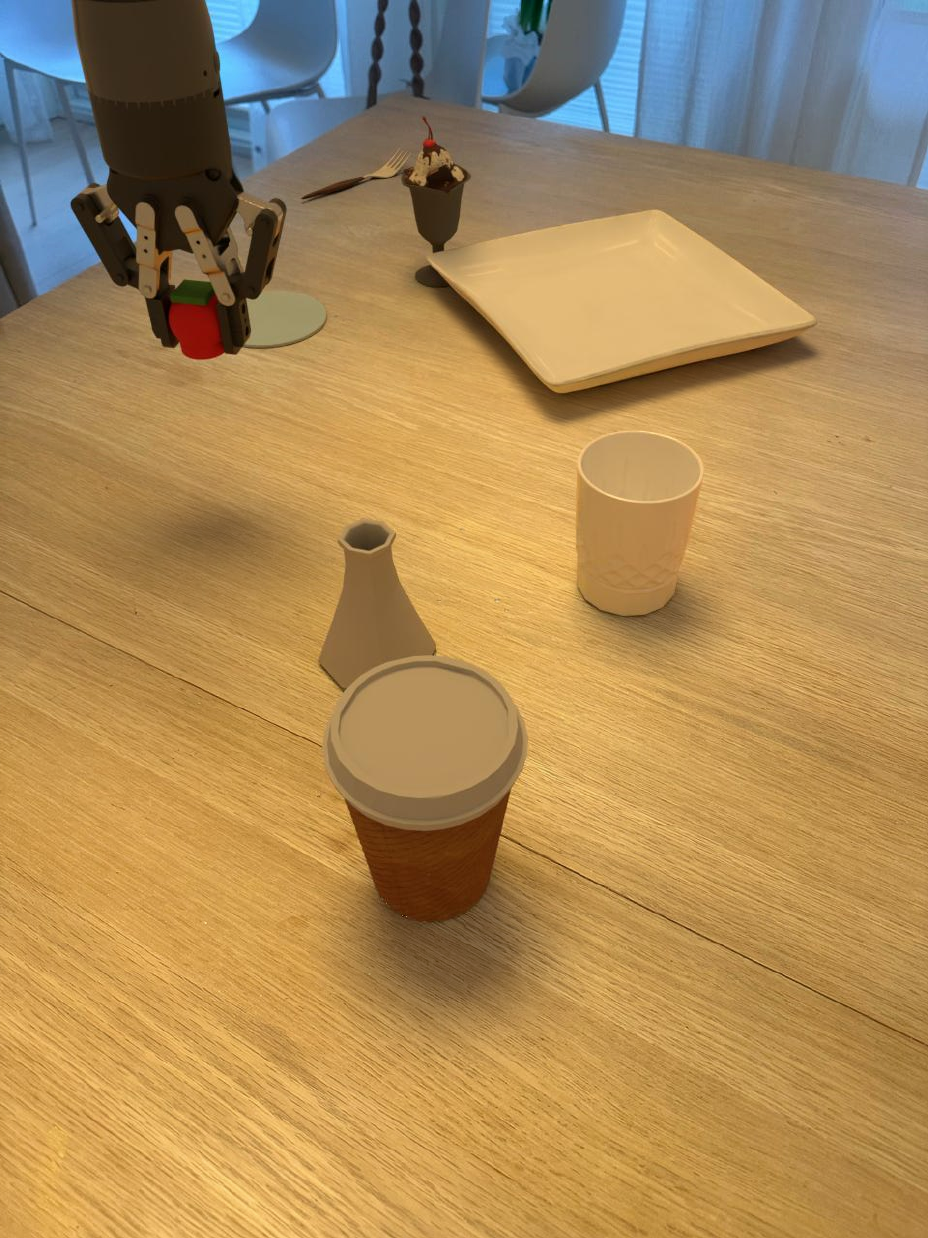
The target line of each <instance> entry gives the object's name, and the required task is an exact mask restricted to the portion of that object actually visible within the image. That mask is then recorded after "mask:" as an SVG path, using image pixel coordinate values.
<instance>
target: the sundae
mask: <svg viewBox="0 0 928 1238" xmlns="http://www.w3.org/2000/svg"><path fill="white" fill-rule="evenodd" d="M421 117H422V118H421V119H422V120H423V122H424V123H425V124H426V126H427V128H428V135H427V139H424V141H423V142H422V146H423V148H422V150H421V151H420V152H419V154H418V155H417V157H416V161H415V163H414V166H410V167H408V168H405V169H403V170H402V174H401V178H400V179H401V184H402V185H403V186H404V187H407V188H409V189H408V190H409V193H410V197H411V202H412V208H413V215H414V220H415V224H416V228H417V232H418V234H419V235H420V236H421V237H422V238H423V239H424V240H425V241H426V242H428V243H429V244H430V246H431V247H432V248H431V249H432V253H436V252H440V251H445V244H446V243H447V242H449V241H450V240H451V239H452V238H453V237H454V236H455V235H456V233H457V232H458V228H459V224H460V218H461V210H462V202H463V201H462V199H463V195H464V194H463V193H464V188H465V184H466V183H467V182H468V181H470V180H471V178H472V175H471V173H469V171H468V170H467V169H465V168H464V167H462V166H460V165H459V164H457V163H454V161H453V160H452V157H451V155H450V153H449V152H448V151H447V150H446V148H444V147H443V146H441V145H439V144H438V143H437V141H436V140H434V136H433V135H434V134H433V131H432V128H431V126H430V124H429V122H428V121H427V117H426V116H425V115H423V116H421ZM414 278H415V280H416V281H417V282H418V283H420V284H422V285H424V286H427V287H434V288H443V287H449V286H450V284H449V283H448V282H447V281H446V280H445V279H444V278H443V277H442V276H441V275H440V274H439V272H438V271H437V270H435V269H434V268H433V267H432V266H431V264H427V265H425V266H422V267H420V268H419V269H418V270H416V271H415V273H414ZM450 287H451V286H450Z"/></svg>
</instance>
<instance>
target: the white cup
mask: <svg viewBox="0 0 928 1238" xmlns="http://www.w3.org/2000/svg"><path fill="white" fill-rule="evenodd" d="M704 476H705V467H704V463H703V460H702V458H701V457H700V455H699V454H698V453H697V452H696V451H695V450H694V449H693V448H692V447H690V446H689V445H688V444H686V443H685V442H683V441H681V440H680V439H677V438H675V437H673V436H670V435H667V434H664V433H660V432H656V431H649V430H642V429H641V430H640V429H639V430H638V429H636V430H635V429H629V430H628V429H627V430H619V431H613V432H608V433H606V434H603V435H600V436H598V437H595V438H594V439H592V440H590V441H589V442H588V443H587V444H585V446H583V448H582V449H581V450H580V452H579V454H578V456H577V460H576V499H575V501H576V503H575V550H576V555H577V557H576V585H577V588H578V589H579V591H580V593H581V596H582V598H583V599H584V600H585V601H587V602H588V603H590V604H591V605H592V606H594V607H595V608H597V609H598V610H600V611H603V612H606V613H610V614H614V615H616V616H617V615H618V616H622V617H628V616H631V617H633V616H645V615H648V614H650V613H653V612H656V611H658V610H660V609H663V608H664V607H665V606H666V604H667V603H668V602H670V599H672V598H673V596H674V595H675V591H676V586H677V582H678V577H679V573H680V568H681V566H682V563H683V562H684V559H685V555H686V550H687V547H688V543H689V539H690V536H691V532H692V528H693V524H694V520H695V516H696V511H697V507H698V501H699V497H700V493H701V489H702V485H703V480H704Z"/></svg>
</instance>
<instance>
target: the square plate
mask: <svg viewBox="0 0 928 1238" xmlns="http://www.w3.org/2000/svg"><path fill="white" fill-rule="evenodd" d="M425 259H426V262H428V263H429V265H431V266H432V267H433V268H434V269H435V270H437V271H438V272H439V274H440V275H441V276H442V277H443V278H444V279H445V280H446V281H447V282H448V283H449V284H450V287H451V289H453V290H454V291H455V292H456V293H457V294H458V295H459V296H461V297H462V299H464V300H465V302H468V304H469V305H470V306H471V307H472V308H474V309H475V310H476V311H477V312H478V313H479V314H480V315H481V316H482V317H483V318H484V320H486V321H487V322H488V323H489V324H490V325H491V326H492V327H493V328H494V329H495V331H497V333H498V334H500V336H502V338H503V339H504V340H505V341H506V342H507V343H508V344H509V345H510V347H511V348H512V349H513V350H514V352H515V353H516V354H517V355H518V356H519V357H520V358H521V360H522V361H523V362H524V363H525V364H526V366H527V367H528V368H529V370H531V372H532V373H533V374H534V375H535V376H536V377H537V378H538V379H539V380H540V382H542V383H543V384H544V385H545V386H546V387H547V388H548V389H549V390H551V391H553V392H554V393H557V394H566V393H567V394H568V393H572V392H576V391H582V390H586V389H591V388H595V387H598V386H602V385H608V384H612V383H616V382H620V381H624V380H628V379H629V380H630V379H632V378H636V377H640V376H644V375H648V374H652V373H657V372H660V371H665V370H668V369H673V368H677V367H680V366H684V365H688V364H689V365H690V364H692V363H693V364H694V363H697V362H701V361H706V360H710V359H715V358H719V357H725V356H730V355H734V354H739V353H743V352H747V351H752V350H755V349H759V348H762V347H765V346H770V345H774V344H777V343H781V342H784V341H787V340H789V339H792V338H795V337H797V336H799V335H801V334H803V333H804V332H806V331H808V330H810V329H812V328H814V327H815V326H816V325H817V324H818V319H816V318H815V316H814V315H813V314H811V313H810V312H808V311H807V310H805V309H804V308H803V307H801V306H800V305H799V304H798V303H796V302H795V301H793V300H791V299H790V298H789V297H788V296H786V295H785V294H783V293H782V292H780V291H779V290H778V289H777V288H775V287H774V286H772V285H771V284H769V283H768V282H767V281H765V280H764V279H763V278H761V277H760V276H758V275H757V274H756V273H754V272H753V271H751V270H750V269H749V268H747V267H746V266H745V265H743V263H740V262H739V261H737V260H736V259H735V258H733V257H732V256H731V255H729V254H728V253H726V252H724V250H722V249H721V248H719V247H718V246H716V245H715V244H713V243H712V242H710V241H709V240H707V239H706V238H704V237H702V236H701V235H700V234H698V233H697V232H695V231H693V230H692V229H690V227H687V225H685V224H683V223H681V222H680V221H678V220H677V219H675V218H674V217H672V216H670V215H669V214H668V213H666V212H664V211H662V210H660V209H648V210H643V211H638V212H631V213H625V214H620V215H614V216H607V217H603V218H602V217H601V218H595V219H590V220H584V221H578V222H573V223H567V224H563V225H562V224H561V225H557V226H552V227H547V228H543V229H537V230H533V231H528V232H523V233H522V232H521V233H518V234H514V235H513V234H512V235H509V236H503V237H500V238H499V237H498V238H494V239H490V240H485V241H481V242H476V243H474V244H468V245H464V246H459V247H454V248H450V249H444V251H440V252H436V253H433V252H431V253H429V254H427V255H426V256H425Z"/></svg>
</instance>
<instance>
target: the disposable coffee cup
mask: <svg viewBox="0 0 928 1238" xmlns="http://www.w3.org/2000/svg"><path fill="white" fill-rule="evenodd" d="M528 743H529V737H528V732H527V727H526V723H525V719H524V718H523V716H522V714H521V712H520V709H519V708H518V706H517V705H516V704H515V703H514V701H513V697H511V695H510V693H509V692H508V690H507V689H506V687H505V686H504V685H503V684H502V683H501V682H500V681H499V680H498V679H497V678H495V677H494V676H492V674H490V673H489V672H487V671H486V670H485V669H483V668H481V667H479V666H477V665H475V664H473V663H471V662H468V661H465V660H463V659H458V658H454V657H449V656H444V655H434V654H432V655H427V656H412V657H407V658H403V659H398V660H394V661H390V662H386V663H384V664H381V665H379V666H377V667H375V668H373V669H371V670H369V671H368V672H366V673H364V674H363V675H361V676H360V677H358V678H357V679H356V680H355V681H354V682H353V683H352V684H351V685H350V686H349V687H348V688H345V689H344V691H343V693H342V694H341V696H340V697H339V698H338V700H337V702H336V704H335V706H334V708H333V711H332V714H331V715H330V717H329V718H328V722H327V723H326V726H325V729H324V732H323V738H322V744H321V752H322V758H323V763H324V769H325V771H326V773H327V775H328V778H329V780H330V783H331V784H332V785H333V787H334V788H335V790H337V792H338V794H339V795H340V796H341V797H342V798H344V802H345V804H346V808H347V810H348V812H349V816H350V818H351V822H352V825H353V826H354V830H355V833H356V836H357V838H358V842H359V844H360V846H361V850H362V852H363V854H364V858H365V860H366V864H367V866H368V870H369V872H370V875H371V878H372V880H373V883H374V887H375V889H377V890H376V892H377V891H378V892H377V894H378V893H379V894H378V896H379V897H380V898H382V899H383V900H382V899H381V900H382V902H383V903H384V902H385V903H387V905H388V906H389V907H388V906H387V905H386V906H387V907H388V908H389V909H391V910H392V909H393V910H394V911H393V910H392V911H393V912H395V913H396V914H398V913H399V914H398V915H400V914H401V915H403V916H405V917H404V918H406V919H409V918H410V919H409V920H413V921H417V922H422V921H426V922H425V923H436V922H435V921H439V922H444V921H443V920H445V921H447V920H451V919H454V917H455V918H457V917H459V916H461V914H462V915H463V914H465V913H467V912H468V911H470V910H471V909H473V908H474V907H475V906H476V905H477V903H479V902H480V900H481V899H482V898H483V897H484V895H485V893H486V892H487V890H488V887H489V885H490V881H491V876H492V871H493V867H494V863H495V858H496V855H497V850H498V846H499V842H500V836H501V833H502V830H503V829H502V828H503V825H504V820H505V816H506V812H507V809H508V803H509V800H510V795H511V791H512V788H513V786H514V785H515V783H516V782H517V780H518V779H519V777H520V775H521V774H522V772H523V769H524V766H525V763H526V759H527V756H528V746H529V744H528ZM385 903H384V904H385ZM401 915H400V916H401ZM403 916H402V917H403ZM406 916H407V917H406Z"/></svg>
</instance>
